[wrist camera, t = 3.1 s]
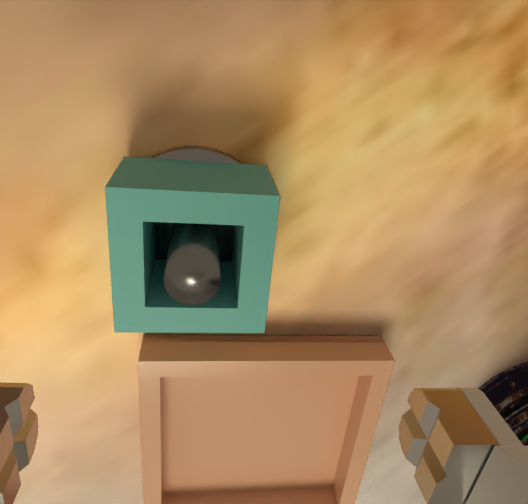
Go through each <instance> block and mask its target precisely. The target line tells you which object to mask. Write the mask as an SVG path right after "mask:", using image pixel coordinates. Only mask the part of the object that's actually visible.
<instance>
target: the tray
mask: <svg viewBox="0 0 528 504" xmlns="http://www.w3.org/2000/svg"><path fill="white" fill-rule="evenodd" d="M394 362H395V360H394V358H393V356H392V355H391V353H390V351H389V349H388V348H387V346H386V344H385V342H384V341H383V339H382V337H381V336H298V335H144V336H143V341H142V346H141V351H140V356H139V361H138V366H139V392H140V419H141V445H142V472H143V498H144V504H355V500H356V497H357V493H358V490H359V486H360V483H361V479H362V475H363V472H364V468H365V465H366V461H367V458H368V454H369V451H370V447H371V444H372V440H373V436H374V433H375V429H376V426H377V422H378V419H379V415H380V412H381V408H382V405H383V401H384V397H385V394H386V390H387V387H388V383H389V380H390V376H391V373H392V369H393V366H394Z"/></svg>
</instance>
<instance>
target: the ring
mask: <svg viewBox="0 0 528 504" xmlns="http://www.w3.org/2000/svg"><path fill="white" fill-rule="evenodd" d="M105 193H106V209H107V224H108V239H109V255H110V270H111V285H112V301H113V316H114V332H157V333H265V324H266V316H267V307H268V298H269V290H270V281H271V272H272V264H273V255H274V246H275V238H276V229H277V220H278V212H279V203H280V194H279V192H278V190H277V187H276V185H275V183H274V181H273V178H272V176H271V174H270V172H269V169H268V167H267V165H255V164H239V163H222V162H206V161H190V160H173V159H157V158H141V157H125V156H124V158H123V159H122V161H121V163H120V164H119V166H118V167H117V169H116V170H115V172H114V174H113V175H112V177H111V178H110V180H109V182H108V183H107V185H106V186H105ZM155 222H168V223H193V224H217V225H235V231H234V245H233V259H232V262H221V261H219V262H220V279H221V282H220V287H219V290H218V291H217V293H216V294H215V296H214V297H212V298H211V299H210V300H208V301H206V302H204V303H201V304H196V305H188V304H183V303H180V302H178V301H176V300H175V299H173V298H172V297H171V296H170V295H169V294H168V293H167V291H166V289H165V286H164V274H165V268H166V262H167V260H155Z"/></svg>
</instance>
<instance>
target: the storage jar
mask: <svg viewBox="0 0 528 504" xmlns="http://www.w3.org/2000/svg"><path fill="white" fill-rule="evenodd" d="M479 390H481V391H482V392H483V393H484V394H485V395H486V397H487V398H488V399H489V401H490V402H491V403H492V405H493V406H494V407H495V408H496V410H497V411H498V412H499V414H500V415H501V416H502V418H503V419H504V420H505V422H506V423H507V424H508V426H509V427H510V428H511V430H512V431H513V432H514V434H515V435H516V436H517V438H518V439H519V440H520V442H521V443H522V444H523V446H528V362H526V363H523V364H520V365H517V366H515V367H512V368H510V369H508V370H506V371H504V372H502V373H500V374H498V375H497V376H495V377H493V378H492V379H490V380H489V381H488V382H486V383H485V384H484V385H482V386H481V387H480V388H479Z"/></svg>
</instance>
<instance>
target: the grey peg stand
mask: <svg viewBox="0 0 528 504" xmlns="http://www.w3.org/2000/svg"><path fill="white" fill-rule="evenodd" d="M151 158H157V159H173V160H190V161H206V162H222V163H239V164H242V163H241V162H240V161H238V160H237V159H235V158H234V157H232V156H230V155H228V154H226V153H223V152H221V151H218V150H215V149H211V148H206V147H198V146H187V147H179V148H174V149H170V150H166V151H164V152H161V153H159V154H157V155H155V156H153V157H151ZM234 231H235V225H217V224H193V223H168V222H155V260H167V262H166V268H165V274H164V286H165V289H166V291H167V293H168V294H169V295H170V296H171V297H172V298H173V299H175V300H176V301H178V302H180V303H183V304H188V305H196V304H201V303H204V302H206V301H208V300H210V299H211V298H212V297H214V296H215V294H216V293H217V291H218V290H219V287H220V282H221V279H220V262H219V261H221V262H232V259H233V245H234Z"/></svg>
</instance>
